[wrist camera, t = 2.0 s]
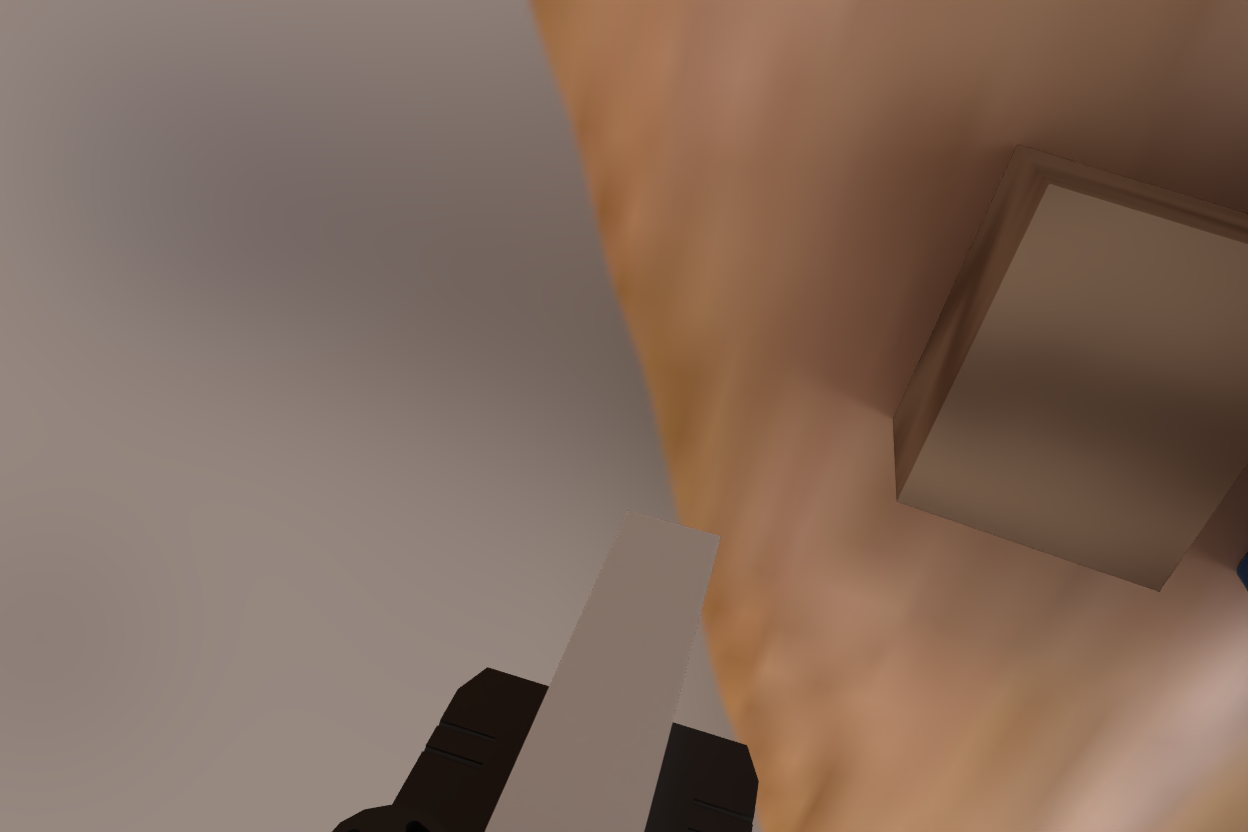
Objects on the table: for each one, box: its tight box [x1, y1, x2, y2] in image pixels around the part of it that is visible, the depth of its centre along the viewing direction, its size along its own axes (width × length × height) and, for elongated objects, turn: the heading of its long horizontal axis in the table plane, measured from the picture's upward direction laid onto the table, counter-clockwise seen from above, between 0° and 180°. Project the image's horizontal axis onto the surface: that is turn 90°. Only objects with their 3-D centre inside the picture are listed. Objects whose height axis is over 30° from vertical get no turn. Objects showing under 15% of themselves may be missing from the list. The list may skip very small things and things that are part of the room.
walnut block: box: [893, 144, 1248, 592], centre depth 28 cm, size 10×8×6 cm
